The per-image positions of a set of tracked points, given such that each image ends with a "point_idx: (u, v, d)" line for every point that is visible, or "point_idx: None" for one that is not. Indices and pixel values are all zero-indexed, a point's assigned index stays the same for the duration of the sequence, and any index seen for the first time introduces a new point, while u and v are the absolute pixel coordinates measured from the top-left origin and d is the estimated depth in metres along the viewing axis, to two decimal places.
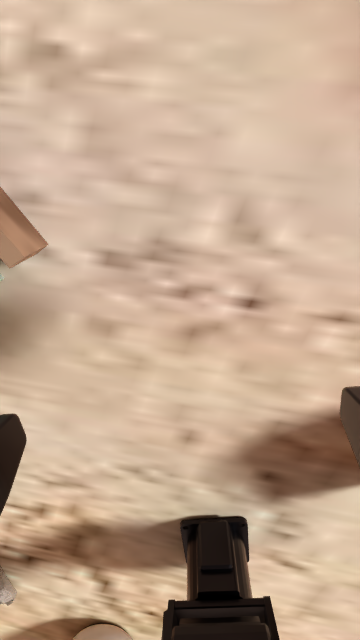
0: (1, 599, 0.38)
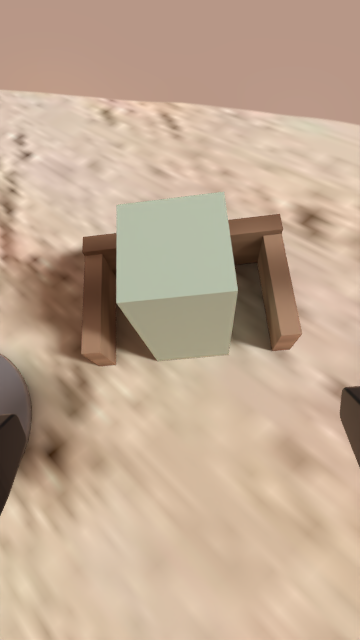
0: None
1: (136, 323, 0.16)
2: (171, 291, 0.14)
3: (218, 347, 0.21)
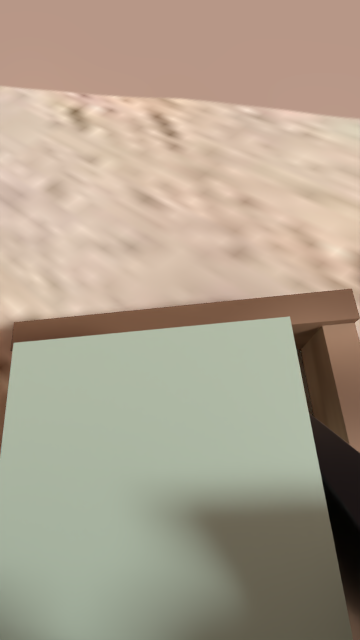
0: None
1: None
2: None
3: None
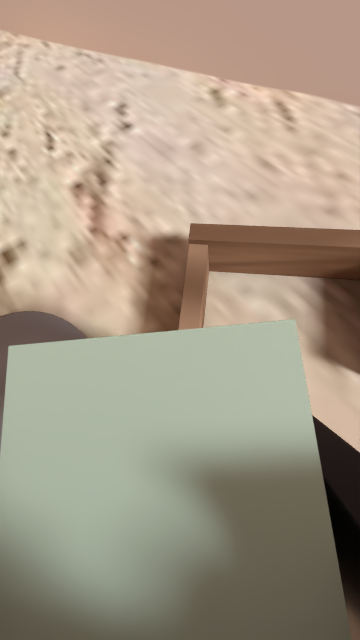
0: None
1: None
2: None
3: None
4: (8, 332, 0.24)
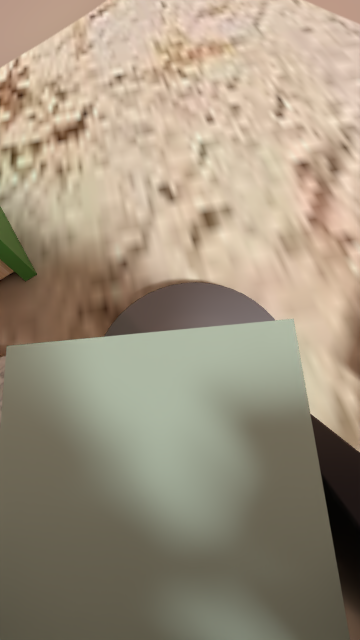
0: None
1: None
2: None
3: None
4: (199, 302, 0.21)
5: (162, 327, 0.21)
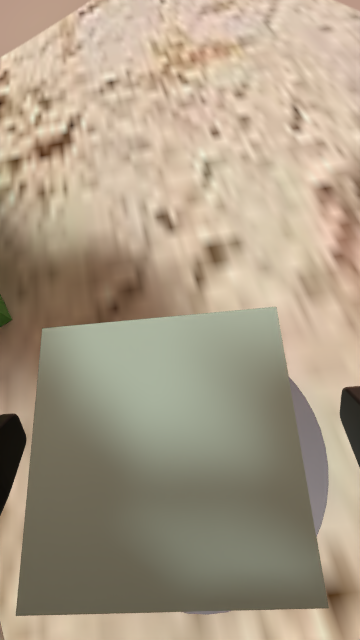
0: None
1: None
2: (154, 592, 0.05)
3: None
4: None
5: None
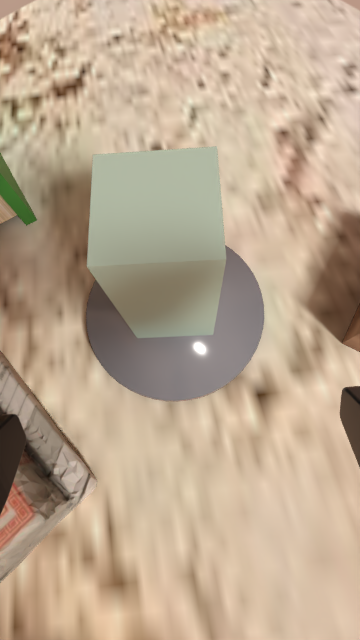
0: (69, 484, 0.19)
1: (111, 293, 0.14)
2: (150, 256, 0.12)
3: (202, 325, 0.20)
4: None
5: None
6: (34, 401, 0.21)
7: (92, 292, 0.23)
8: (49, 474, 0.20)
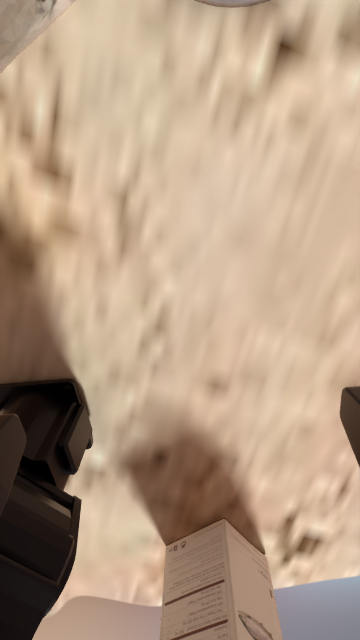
0: None
1: None
2: None
3: None
4: None
5: None
6: None
7: None
8: None
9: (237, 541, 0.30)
